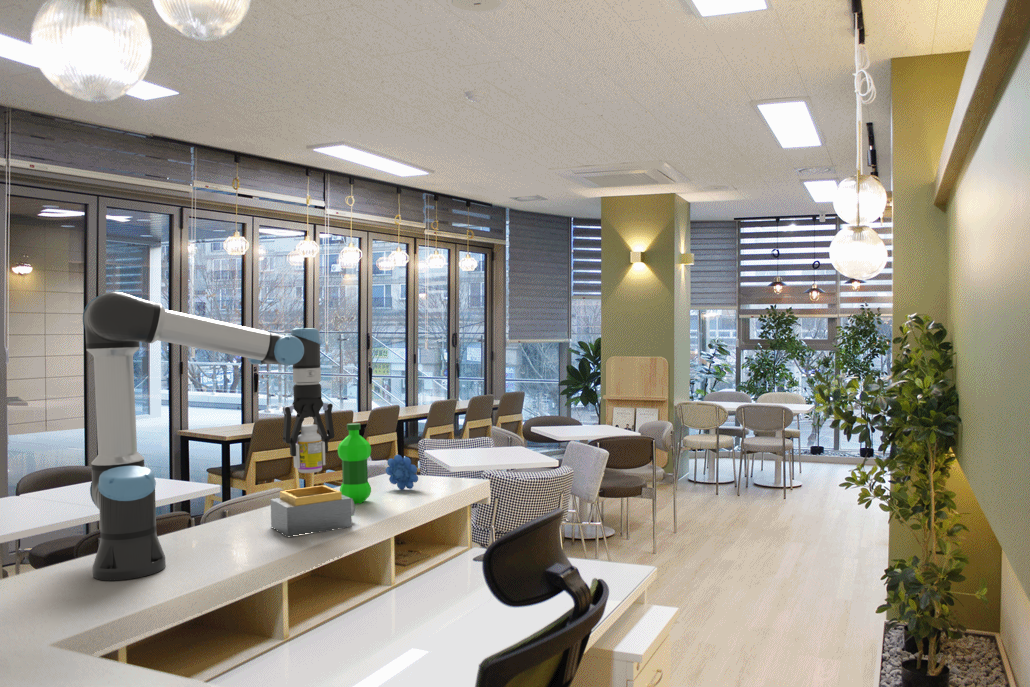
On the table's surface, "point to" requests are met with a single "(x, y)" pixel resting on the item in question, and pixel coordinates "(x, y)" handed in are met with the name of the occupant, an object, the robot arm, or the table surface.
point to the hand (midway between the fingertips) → (309, 466)
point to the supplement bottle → (310, 449)
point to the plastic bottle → (355, 465)
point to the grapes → (402, 472)
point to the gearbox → (311, 510)
